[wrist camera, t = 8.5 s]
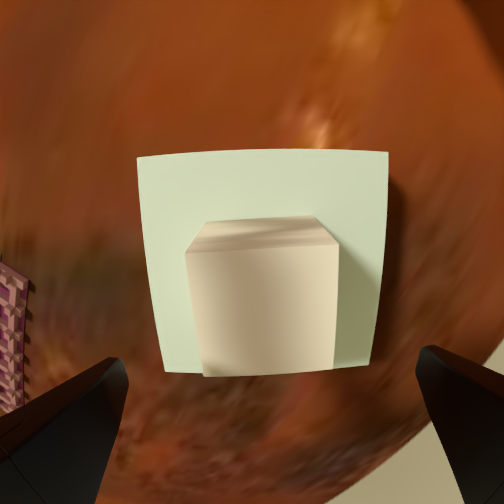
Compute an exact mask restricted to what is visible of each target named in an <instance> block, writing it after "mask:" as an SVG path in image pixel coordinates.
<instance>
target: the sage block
mask: <svg viewBox="0 0 504 504" xmlns="http://www.w3.org/2000/svg"><path fill="white" fill-rule="evenodd" d="M137 168H138V183H139V196H140V208H141V219H142V228H143V237H144V246H145V254H146V262H147V270H148V277H149V284H150V291H151V297H152V303H153V309H154V315H155V321H156V327H157V332H158V338H159V343H160V348H161V353H162V358H163V363H164V368H165V372H185V373H203V370H202V365H201V359H200V353H199V348H198V342H197V336H196V330H195V324H194V317H193V311H192V304H191V298H190V291H189V284H188V277H187V269H186V262H185V254H184V253H185V252H186V250H187V249H188V247H189V246H190V244H191V243H192V241H193V240H194V238H195V237H196V235H197V234H198V232H199V231H200V230H201V228H202V227H203V225H204V224H205V222H210V221H224V220H239V219H255V218H272V217H291V216H311V215H313V217H314V218H315V219H316V220H317V221H318V222H319V223H320V224H321V225H322V226H323V227H324V228H325V229H326V231H327V232H328V233H329V234H330V235H331V236H332V237H333V238H334V239H335V240H336V242H337V243H338V244H339V267H338V297H337V318H336V334H335V349H334V361H333V368H344V367H354V366H363V365H369V360H370V355H371V349H372V343H373V337H374V331H375V325H376V318H377V311H378V304H379V296H380V288H381V279H382V270H383V259H384V248H385V235H386V219H387V198H388V152H378V151H360V150H333V149H255V150H228V151H209V152H194V153H180V154H168V155H158V156H148V157H138V158H137Z"/></svg>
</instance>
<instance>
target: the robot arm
mask: <svg viewBox="0 0 504 504" xmlns="http://www.w3.org/2000/svg"><path fill="white" fill-rule="evenodd" d="M415 373H416V377H417V380H418V383H419V386H420V389H421V392H422V395H423V398H424V401H425V404H426V408H427V410H428V413H429V416H430V418H431V420H432V423H433V425H434V427H435V430H436V432H437V434H438V436H439V439H440V441H441V444H442V446H443V448H444V451H445V453H446V456H447V458H448V461H449V463H450V466H451V468H452V471H453V474H454V476H455V479H456V481H457V484H458V487H459V489H460V492H461V495H462V498H463V501H464V503H465V504H504V375H502V374H499V373H497V372H495V371H493V370H491V369H488V368H486V367H484V366H481V365H479V364H477V363H474V362H472V361H470V360H468V359H465V358H463V357H461V356H458V355H456V354H454V353H452V352H449V351H447V350H445V349H443V348H440V347H438V346H436V345H428V346H423V347H422V348H421V350H420V354H419V357H418V361H417V365H416V370H415ZM128 387H129V381H128V377H127V373H126V370H125V366H124V363H123V361H122V359H121V358H114V357H108V358H106V359H105V360H103V361H101V362H99V363H98V364H96V365H94V366H92V367H91V368H89V369H87V370H85V371H84V372H82V373H80V374H78V375H76V376H75V377H73V378H71V379H69V380H68V381H66V382H64V383H62V384H60V385H59V386H57V387H55V388H53V389H51V390H50V391H48V392H46V393H44V394H42V395H41V396H39V397H37V398H35V399H33V400H32V401H30V402H28V403H26V405H22V406H20V407H19V408H17V409H15V410H13V411H11V412H9V413H7V414H5V415H3V416H1V417H0V504H95V501H96V498H97V494H98V491H99V488H100V485H101V481H102V478H103V475H104V472H105V469H106V466H107V463H108V460H109V456H110V453H111V450H112V448H113V445H114V442H115V439H116V436H117V433H118V430H119V426H120V422H121V418H122V413H123V409H124V404H125V400H126V395H127V391H128Z"/></svg>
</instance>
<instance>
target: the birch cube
mask: <svg viewBox="0 0 504 504" xmlns="http://www.w3.org/2000/svg"><path fill="white" fill-rule="evenodd" d="M184 254H185V262H186V269H187V277H188V284H189V291H190V298H191V304H192V311H193V317H194V324H195V330H196V336H197V342H198V348H199V353H200V359H201V365H202V370H203V375H204V377H218V376H251V375H270V374H285V373H298V372H309V371H319V370H329V369H333V361H334V349H335V334H336V318H337V297H338V267H339V244H338V243H337V242H336V240H335V239H334V238H333V237H332V236H331V235H330V234H329V233H328V232H327V231H326V229H325V228H324V227H323V226H322V225H321V224H320V223H319V222H318V221H317V220H316V219H315V218H314V217H313V215H311V216H291V217H272V218H255V219H239V220H224V221H210V222H205V224H204V225H203V227H202V228H201V230H200V231H199V232H198V234H197V235H196V237H195V238H194V240H193V241H192V243H191V244H190V246H189V247H188V249H187V250H186V252H185V253H184Z"/></svg>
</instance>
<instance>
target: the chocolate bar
mask: <svg viewBox="0 0 504 504" xmlns="http://www.w3.org/2000/svg"><path fill="white" fill-rule="evenodd" d="M28 283H29V279H28V278H26V277H24V276H23V275H21V274H20V273H18V272H17V271H15V270H13V269H12V268H10V267H9V266H7V265H6V264H4V263H3V262H1V253H0V408H1V409H2V410H4V411H5V412H7V413H9V412H11V411H13V410H15V409H17V408H19V407H20V406H22V405H24V394H23V344H24V325H25V312H26V301H27V292H28Z"/></svg>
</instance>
